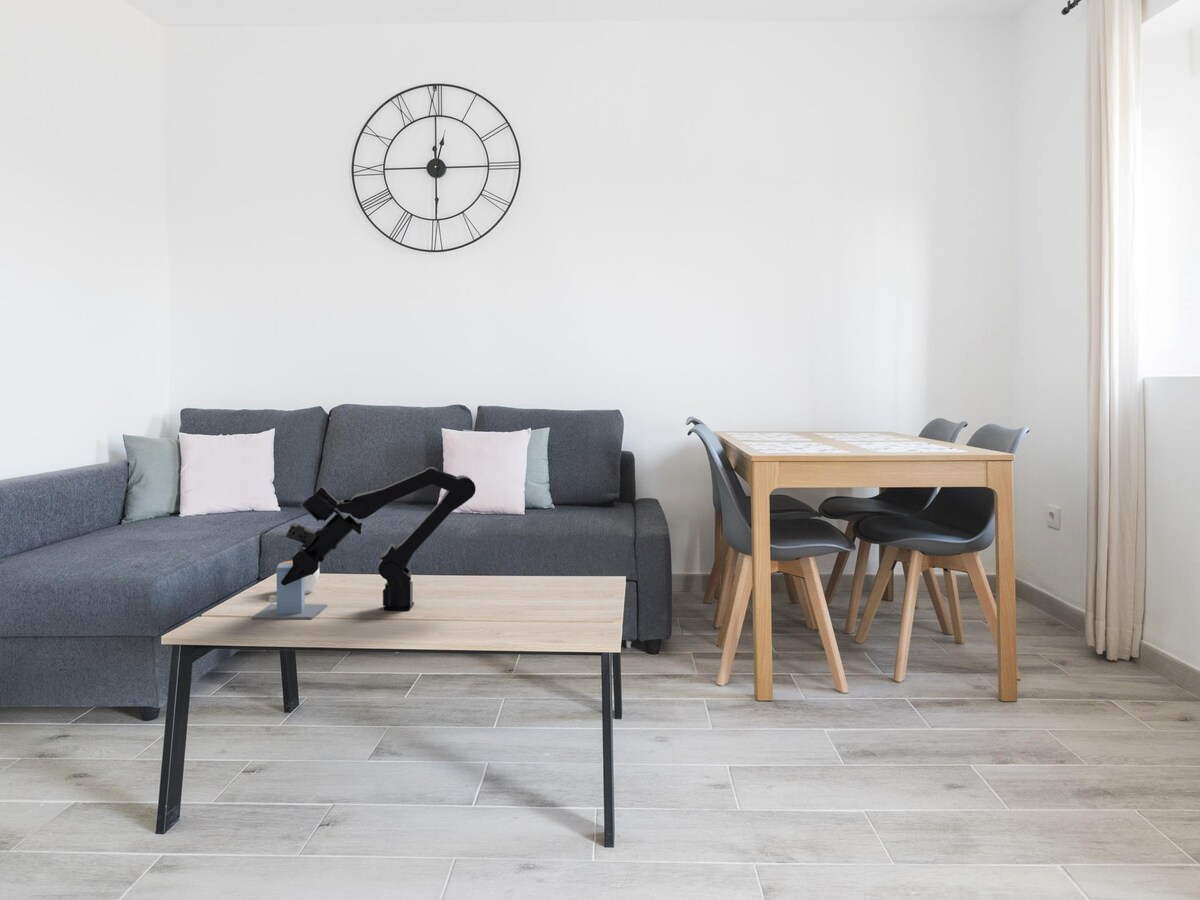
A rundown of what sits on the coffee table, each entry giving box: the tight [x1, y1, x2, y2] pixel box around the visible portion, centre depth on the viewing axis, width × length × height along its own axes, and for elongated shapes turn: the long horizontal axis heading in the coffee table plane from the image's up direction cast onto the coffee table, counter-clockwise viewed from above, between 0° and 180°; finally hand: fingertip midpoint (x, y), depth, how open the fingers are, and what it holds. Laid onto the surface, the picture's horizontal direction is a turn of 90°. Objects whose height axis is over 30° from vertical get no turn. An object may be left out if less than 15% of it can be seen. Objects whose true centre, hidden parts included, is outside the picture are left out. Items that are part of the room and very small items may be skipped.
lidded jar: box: [276, 560, 320, 595], centre depth 216 cm, size 11×11×9 cm
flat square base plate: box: [251, 603, 328, 620], centre depth 195 cm, size 14×12×4 cm
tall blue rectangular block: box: [268, 563, 306, 614], centre depth 194 cm, size 8×6×11 cm
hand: (284, 580), depth 194 cm, fingers open, 7 cm apart
